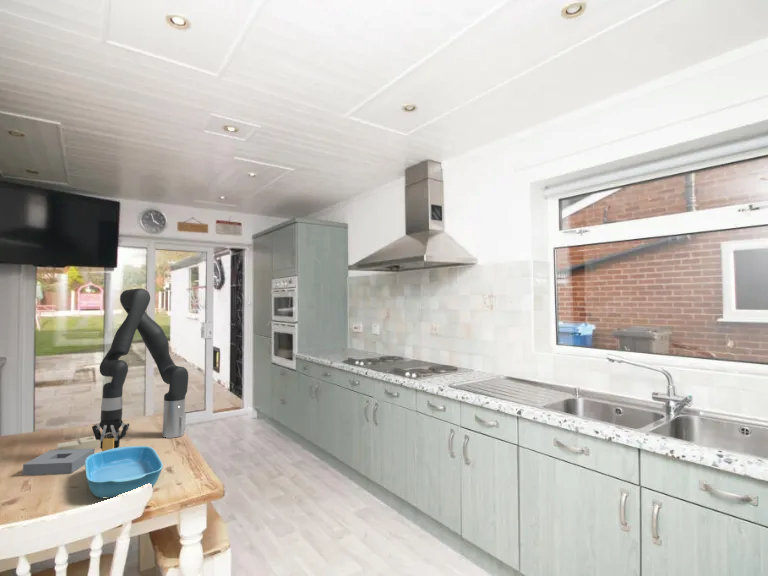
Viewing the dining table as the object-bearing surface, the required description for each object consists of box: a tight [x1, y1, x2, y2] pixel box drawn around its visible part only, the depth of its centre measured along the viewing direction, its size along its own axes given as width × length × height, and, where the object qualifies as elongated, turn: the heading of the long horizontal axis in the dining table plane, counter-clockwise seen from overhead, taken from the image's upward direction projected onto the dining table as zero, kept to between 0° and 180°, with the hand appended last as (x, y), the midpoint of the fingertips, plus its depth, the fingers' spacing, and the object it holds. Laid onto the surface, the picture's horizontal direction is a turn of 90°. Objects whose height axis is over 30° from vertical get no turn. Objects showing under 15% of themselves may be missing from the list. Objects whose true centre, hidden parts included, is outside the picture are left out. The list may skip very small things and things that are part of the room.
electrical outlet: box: [56, 435, 101, 450], centre depth 181 cm, size 7×4×18 cm
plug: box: [101, 432, 115, 452], centre depth 174 cm, size 4×4×8 cm
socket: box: [22, 448, 96, 476], centre depth 160 cm, size 16×16×4 cm
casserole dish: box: [84, 445, 164, 499], centre depth 148 cm, size 37×22×7 cm, turn 38°
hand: (109, 449), depth 174 cm, fingers closed on plug, 4 cm apart
